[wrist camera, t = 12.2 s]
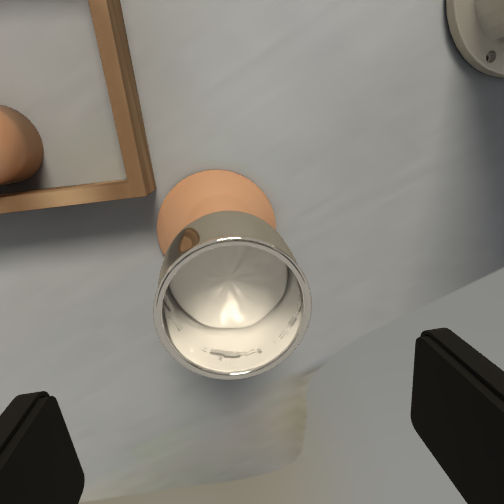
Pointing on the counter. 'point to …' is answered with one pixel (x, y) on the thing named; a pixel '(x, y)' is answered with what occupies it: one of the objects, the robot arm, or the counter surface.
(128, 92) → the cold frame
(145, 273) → the counter surface
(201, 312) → the beer glass
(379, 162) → the counter surface
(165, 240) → the orange dish
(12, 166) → the peach rounded cylinder
